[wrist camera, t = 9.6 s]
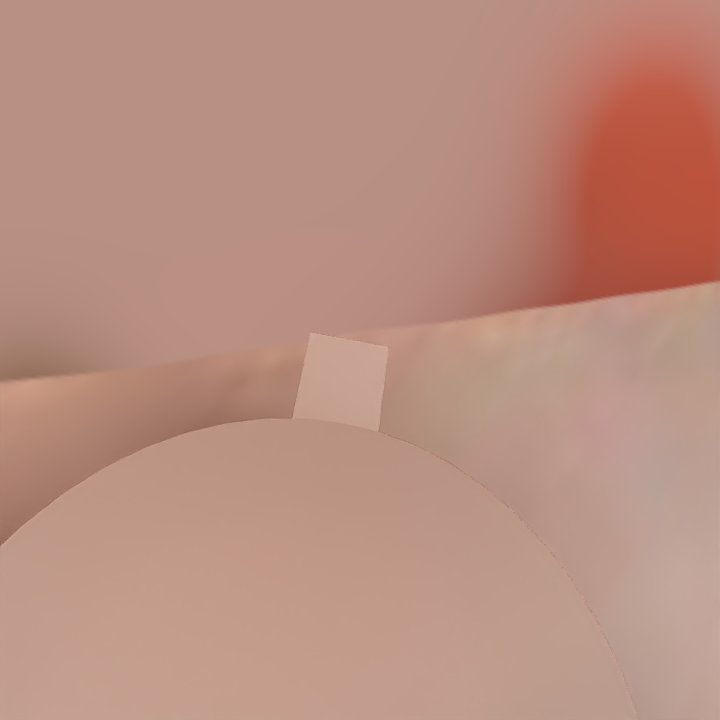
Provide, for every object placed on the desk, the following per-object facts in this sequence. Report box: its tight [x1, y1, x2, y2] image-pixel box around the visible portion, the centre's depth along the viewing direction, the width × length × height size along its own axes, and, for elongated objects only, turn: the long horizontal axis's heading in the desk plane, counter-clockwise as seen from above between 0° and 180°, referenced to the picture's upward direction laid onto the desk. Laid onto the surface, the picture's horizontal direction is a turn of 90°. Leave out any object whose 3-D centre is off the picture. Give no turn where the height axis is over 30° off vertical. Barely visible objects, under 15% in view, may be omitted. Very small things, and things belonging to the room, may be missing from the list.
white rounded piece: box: [0, 332, 639, 720], centre depth 11 cm, size 7×10×12 cm
